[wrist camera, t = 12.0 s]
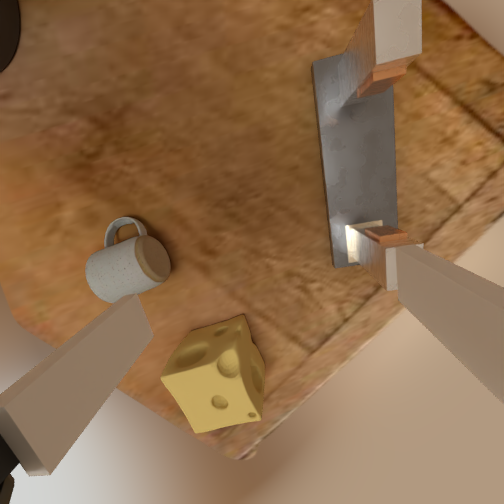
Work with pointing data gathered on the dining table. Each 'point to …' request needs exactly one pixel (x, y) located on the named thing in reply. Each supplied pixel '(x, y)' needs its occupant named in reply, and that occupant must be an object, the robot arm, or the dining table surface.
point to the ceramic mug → (127, 264)
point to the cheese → (217, 376)
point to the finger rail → (363, 120)
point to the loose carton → (380, 251)
